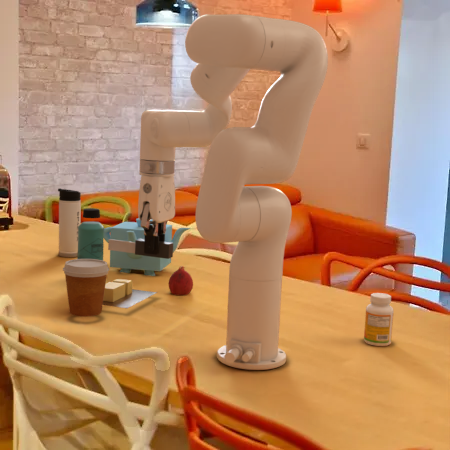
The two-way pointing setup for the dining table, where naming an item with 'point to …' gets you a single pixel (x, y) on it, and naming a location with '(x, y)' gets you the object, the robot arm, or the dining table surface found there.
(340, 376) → the dining table surface
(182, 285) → the onion
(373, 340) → the supplement bottle
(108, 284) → the butter
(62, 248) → the travel mug
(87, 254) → the beverage bottle
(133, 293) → the board
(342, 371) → the dining table surface
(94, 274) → the disposable coffee cup
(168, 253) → the knife
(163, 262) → the teakettle
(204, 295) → the dining table surface
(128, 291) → the butter slice
